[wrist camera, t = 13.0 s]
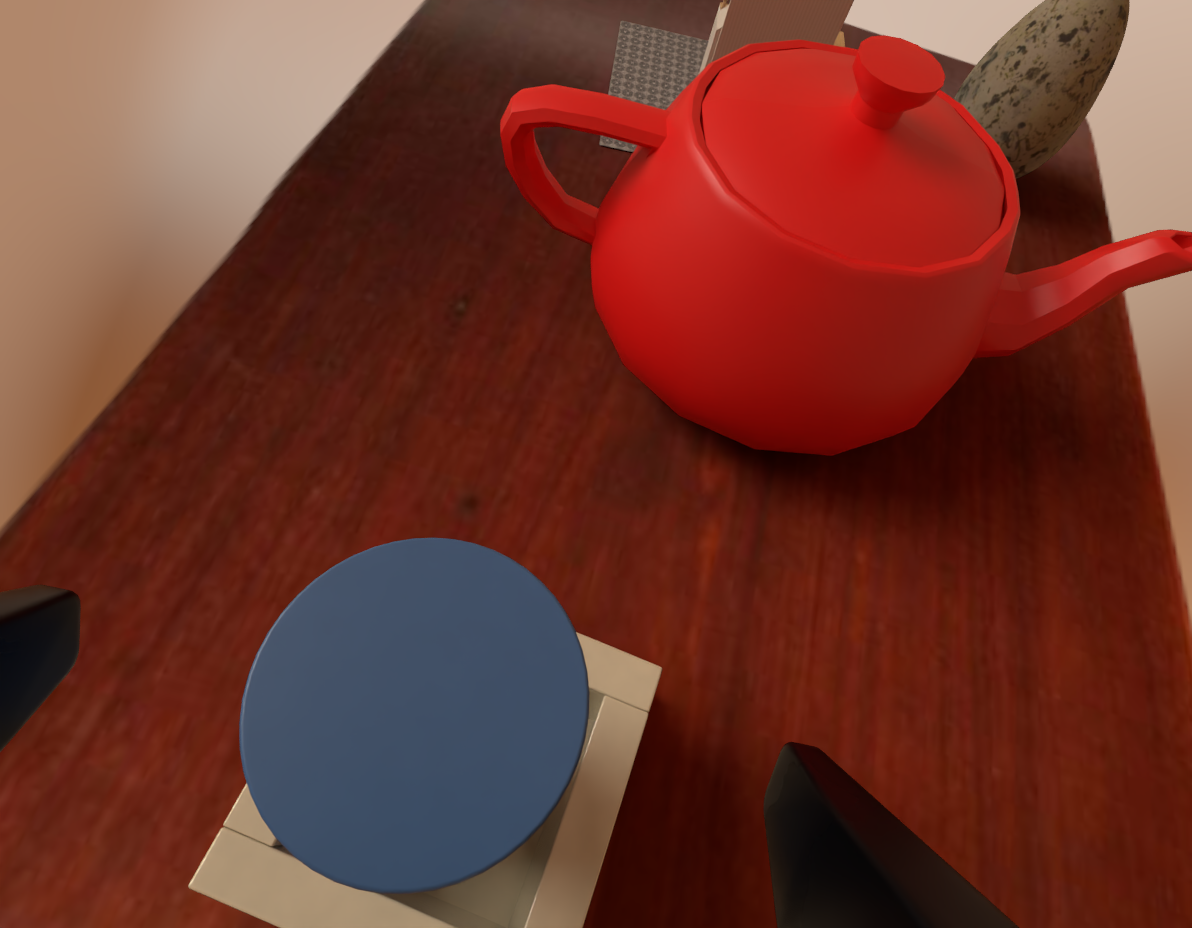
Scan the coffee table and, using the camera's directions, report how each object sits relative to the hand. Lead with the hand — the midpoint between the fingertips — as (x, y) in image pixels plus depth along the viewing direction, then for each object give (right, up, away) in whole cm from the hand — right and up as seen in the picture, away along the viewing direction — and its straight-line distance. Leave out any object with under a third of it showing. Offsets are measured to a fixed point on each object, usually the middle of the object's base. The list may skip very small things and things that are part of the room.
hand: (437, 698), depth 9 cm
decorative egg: (+23, +19, +30) cm, 42 cm away
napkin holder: (+10, +23, +29) cm, 38 cm away
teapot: (+10, +9, +22) cm, 25 cm away
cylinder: (-2, -6, +11) cm, 12 cm away
